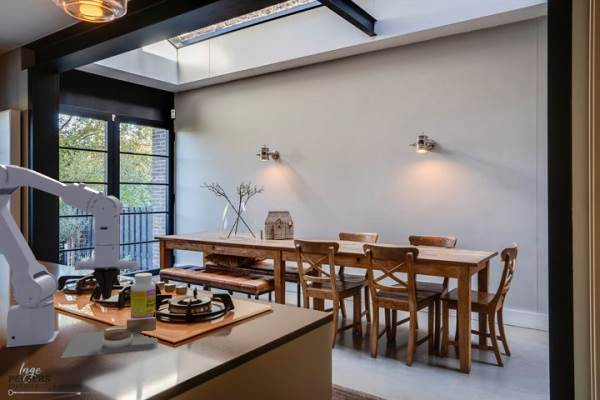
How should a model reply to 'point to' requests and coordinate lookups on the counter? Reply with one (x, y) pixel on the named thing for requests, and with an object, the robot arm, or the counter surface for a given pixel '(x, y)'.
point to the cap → (130, 328)
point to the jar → (117, 343)
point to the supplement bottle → (143, 296)
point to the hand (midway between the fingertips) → (106, 298)
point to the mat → (94, 346)
